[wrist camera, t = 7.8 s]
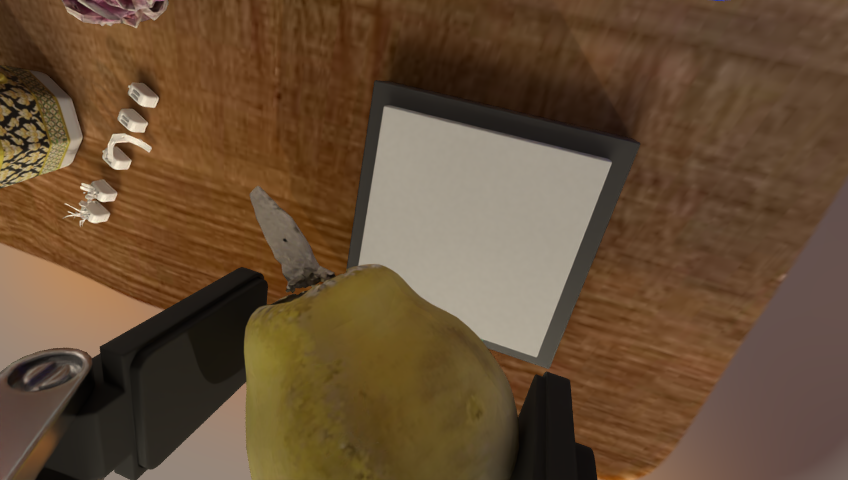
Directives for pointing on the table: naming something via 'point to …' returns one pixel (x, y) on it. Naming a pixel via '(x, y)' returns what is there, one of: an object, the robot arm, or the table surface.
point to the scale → (486, 211)
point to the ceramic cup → (34, 126)
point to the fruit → (367, 378)
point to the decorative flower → (115, 10)
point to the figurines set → (117, 155)
